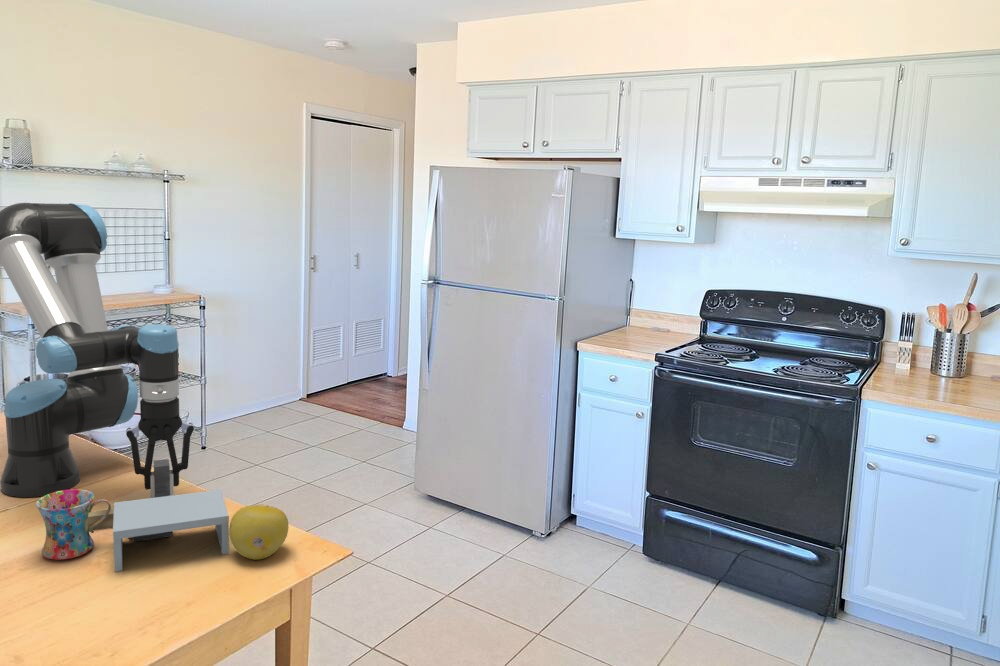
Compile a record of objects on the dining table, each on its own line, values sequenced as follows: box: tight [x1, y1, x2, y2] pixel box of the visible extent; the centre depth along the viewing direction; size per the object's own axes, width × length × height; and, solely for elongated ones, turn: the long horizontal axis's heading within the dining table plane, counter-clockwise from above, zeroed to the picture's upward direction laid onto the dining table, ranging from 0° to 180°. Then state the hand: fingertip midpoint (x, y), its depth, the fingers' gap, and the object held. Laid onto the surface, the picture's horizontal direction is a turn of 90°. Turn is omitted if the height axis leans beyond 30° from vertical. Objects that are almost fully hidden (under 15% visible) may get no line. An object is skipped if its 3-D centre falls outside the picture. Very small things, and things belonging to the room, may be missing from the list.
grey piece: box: [132, 458, 174, 542], centre depth 150 cm, size 19×7×9 cm, turn 27°
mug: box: [35, 488, 112, 561], centre depth 136 cm, size 12×9×11 cm
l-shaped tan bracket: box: [88, 508, 114, 531], centre depth 145 cm, size 10×3×7 cm, turn 117°
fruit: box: [229, 503, 289, 561], centre depth 139 cm, size 10×11×10 cm
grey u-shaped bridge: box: [112, 489, 230, 573], centre depth 139 cm, size 13×19×8 cm
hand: (162, 500), depth 158 cm, fingers closed on grey piece, 3 cm apart
